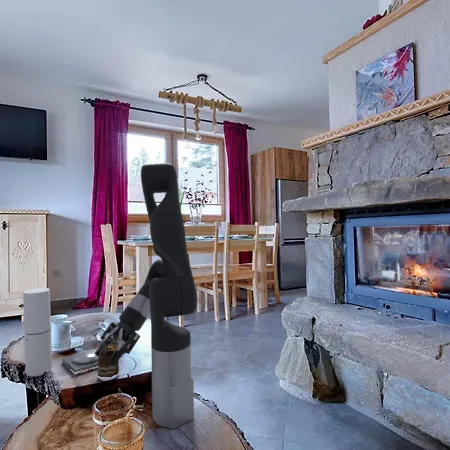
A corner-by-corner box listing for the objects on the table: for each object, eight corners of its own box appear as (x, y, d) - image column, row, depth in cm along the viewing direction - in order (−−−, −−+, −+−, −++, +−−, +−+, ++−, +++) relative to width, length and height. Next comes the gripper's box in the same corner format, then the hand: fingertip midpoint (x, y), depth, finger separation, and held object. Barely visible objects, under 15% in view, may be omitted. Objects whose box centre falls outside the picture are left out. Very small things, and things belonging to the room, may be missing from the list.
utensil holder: (100, 372, 102) (99, 333, 101) (121, 371, 102) (121, 332, 102) (95, 382, 96) (94, 341, 95) (117, 381, 97) (116, 340, 96)
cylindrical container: (40, 377, 100) (38, 293, 99) (20, 375, 101) (17, 292, 100) (57, 366, 106) (54, 288, 106) (37, 364, 108) (35, 287, 107)
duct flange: (113, 362, 108) (113, 355, 108) (75, 375, 100) (74, 366, 100) (98, 351, 117) (98, 344, 117) (62, 362, 109) (62, 354, 109)
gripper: (117, 301, 109) (83, 347, 101) (143, 309, 99) (107, 361, 91) (132, 313, 113) (100, 358, 105) (158, 322, 103) (125, 373, 95)
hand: (104, 359), depth 98 cm, fingers open, 7 cm apart
